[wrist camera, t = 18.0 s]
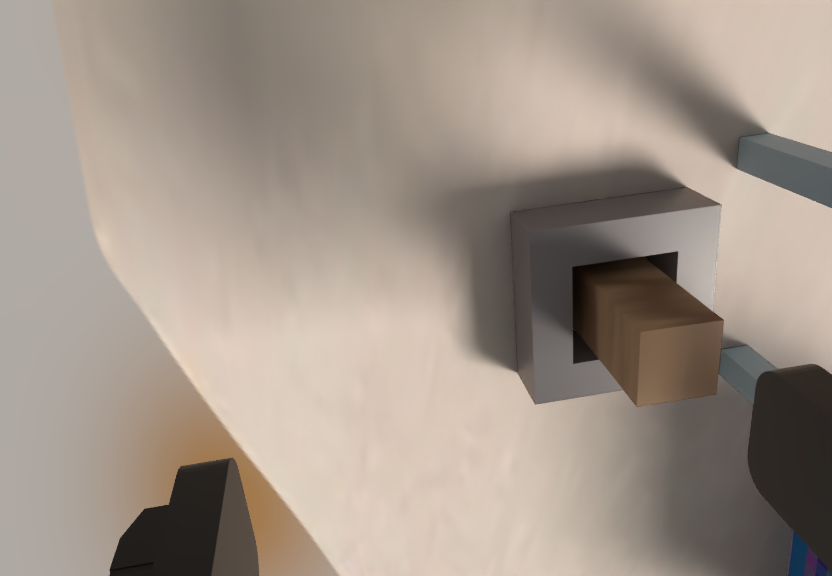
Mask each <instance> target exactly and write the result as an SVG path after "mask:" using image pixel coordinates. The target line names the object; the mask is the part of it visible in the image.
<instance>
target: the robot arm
mask: <svg viewBox="0 0 832 576" xmlns="http://www.w3.org/2000/svg"><path fill="white" fill-rule="evenodd" d="M748 465H749V469H750V473H751V476H752V479H753V481H754V483H755V485H756V487H757V489H758V490H759V492H760V493H761V494H762V496H763V497H764V498H765V499H766V500H767V501H768V502H769V504H770V505H771V506H772V507H773V508H774V509H775V510H776V511H777V512H778V514H779V515H780V516H781V517H782V518H783V519H784V520H785V521H786V522H787V523H788V525H789V526H790V527H791V528H792V529H793V530H794V531H795V532H796V533H797V535H798V536H799V537H800V538H801V539H802V540H803V541H804V542H805V543H806V544H807V546H808V547H809V548H810V549H811V550H812V551H813V552H814V553H815V554H816V556H817V557H818V558H819V559H820V560H821V561H822V562H823V563H824V564H825V566H826V567H827V568H828V569H829V570H830V571H831V572H832V374H830V373H829V372H827V371H826V370H825V369H823V368H822V367H820V366H818V365H815V364H808V365H802V366H796V367H790V368H784V369H777V370H771V371H765V372H763V373H762V374H761V375H760V376H759V377H758V379H757V382H756V387H755V395H754V404H753V412H752V421H751V429H750V438H749V446H748ZM110 576H259V564H258V554H257V546H256V541H255V536H254V532H253V528H252V524H251V519H250V515H249V511H248V507H247V503H246V499H245V495H244V490H243V486H242V482H241V478H240V474H239V470H238V466H237V464H236V461H235V460H234V458H228V459H222V460H216V461H210V462H203V463H197V464H192V465H186V466H181V467H180V468H179V469H178V472H177V475H176V479H175V483H174V487H173V491H172V495H171V498H170V502H169V505H164V506H159V507H154V508H147V509H144V510H143V512H141V514H140V515H139V516H138V517H137V518H136V520H135V521H134V522H133V523H132V524H131V526H130V527H129V528H128V529H127V531H126V532H125V533H124V534H123V535H122V537H121V538H120V540H119V543H118V546H117V550H116V552H115V555H114V558H113V561H112V564H111V567H110Z"/></svg>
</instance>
